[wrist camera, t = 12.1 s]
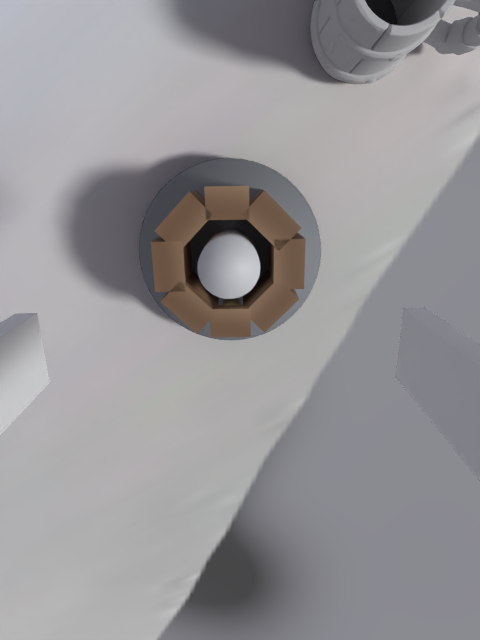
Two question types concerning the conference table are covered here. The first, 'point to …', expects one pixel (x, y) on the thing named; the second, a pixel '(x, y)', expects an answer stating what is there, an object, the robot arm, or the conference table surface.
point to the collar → (185, 286)
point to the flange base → (232, 179)
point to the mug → (385, 35)
